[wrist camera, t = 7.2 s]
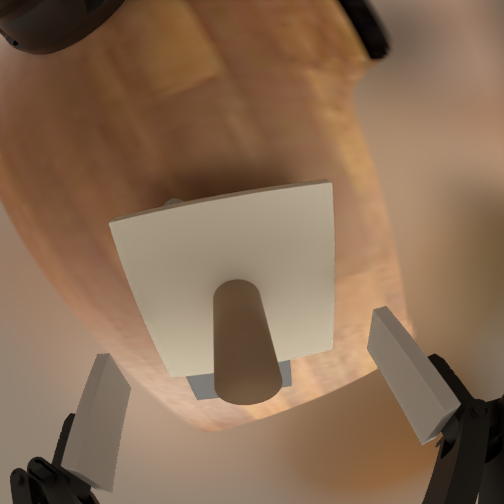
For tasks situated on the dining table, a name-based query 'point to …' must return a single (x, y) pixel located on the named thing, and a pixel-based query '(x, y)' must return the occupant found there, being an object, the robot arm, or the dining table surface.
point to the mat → (205, 382)
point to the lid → (235, 283)
